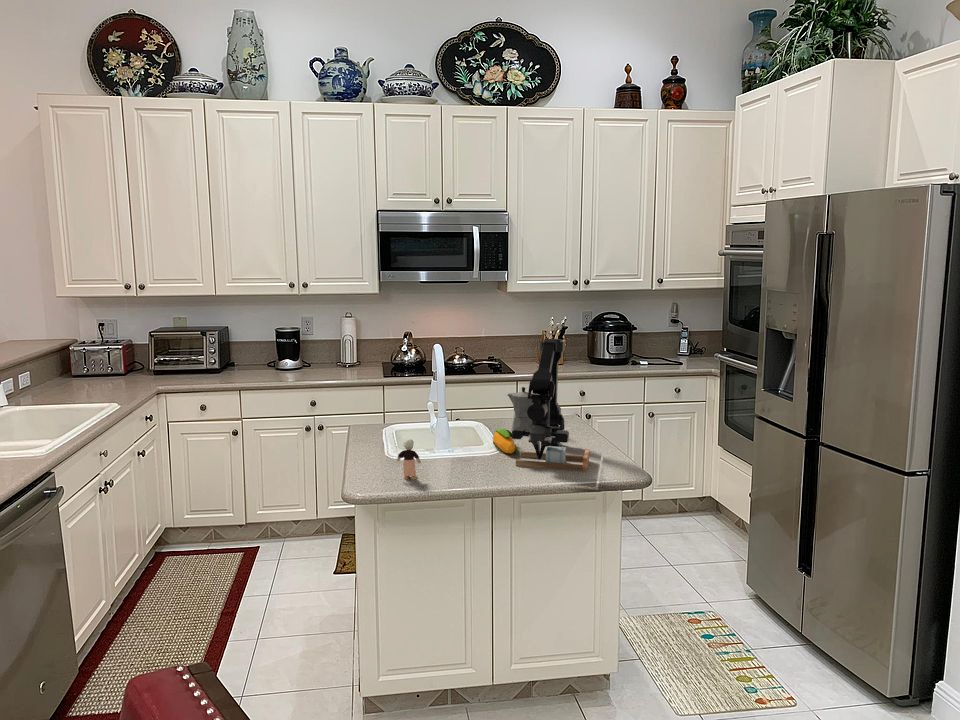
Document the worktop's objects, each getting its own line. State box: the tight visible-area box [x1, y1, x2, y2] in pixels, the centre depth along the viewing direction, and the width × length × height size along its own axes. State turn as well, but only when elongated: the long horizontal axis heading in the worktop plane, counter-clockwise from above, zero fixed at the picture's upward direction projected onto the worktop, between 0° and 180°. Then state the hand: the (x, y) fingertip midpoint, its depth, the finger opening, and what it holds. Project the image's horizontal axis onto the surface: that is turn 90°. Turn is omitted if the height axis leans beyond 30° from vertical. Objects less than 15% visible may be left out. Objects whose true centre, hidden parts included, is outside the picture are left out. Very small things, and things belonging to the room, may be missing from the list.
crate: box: [545, 446, 567, 463], centre depth 239 cm, size 6×6×5 cm
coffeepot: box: [507, 386, 533, 432], centre depth 281 cm, size 15×9×18 cm, turn 70°
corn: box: [492, 428, 519, 455], centre depth 254 cm, size 7×8×20 cm
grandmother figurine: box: [396, 438, 421, 481], centre depth 224 cm, size 8×4×13 cm, turn 92°
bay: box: [515, 448, 590, 472], centre depth 239 cm, size 11×23×5 cm, turn 78°
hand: (539, 459), depth 240 cm, fingers closed
